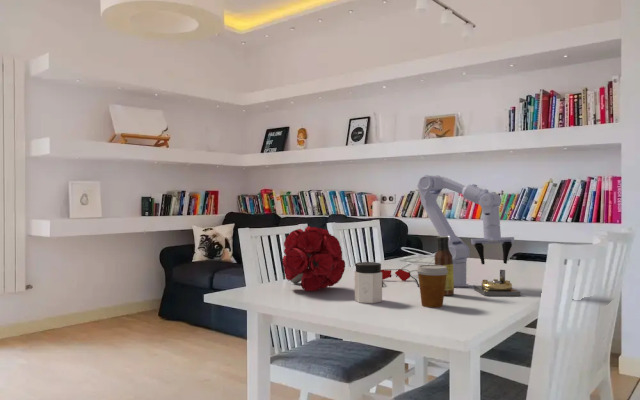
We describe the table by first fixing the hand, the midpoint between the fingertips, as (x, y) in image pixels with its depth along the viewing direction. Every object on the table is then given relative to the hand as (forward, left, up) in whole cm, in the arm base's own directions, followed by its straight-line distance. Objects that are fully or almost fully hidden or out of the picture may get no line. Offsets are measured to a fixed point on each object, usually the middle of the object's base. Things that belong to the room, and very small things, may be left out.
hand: (494, 263), depth 183 cm
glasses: (-33, +14, -10) cm, 37 cm away
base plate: (-1, -5, -10) cm, 11 cm away
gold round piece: (-1, -4, -8) cm, 9 cm away
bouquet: (-66, +4, -10) cm, 67 cm away
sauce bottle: (-20, -8, -10) cm, 23 cm away
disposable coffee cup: (-28, -26, -10) cm, 39 cm away
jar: (-47, -19, -10) cm, 51 cm away
